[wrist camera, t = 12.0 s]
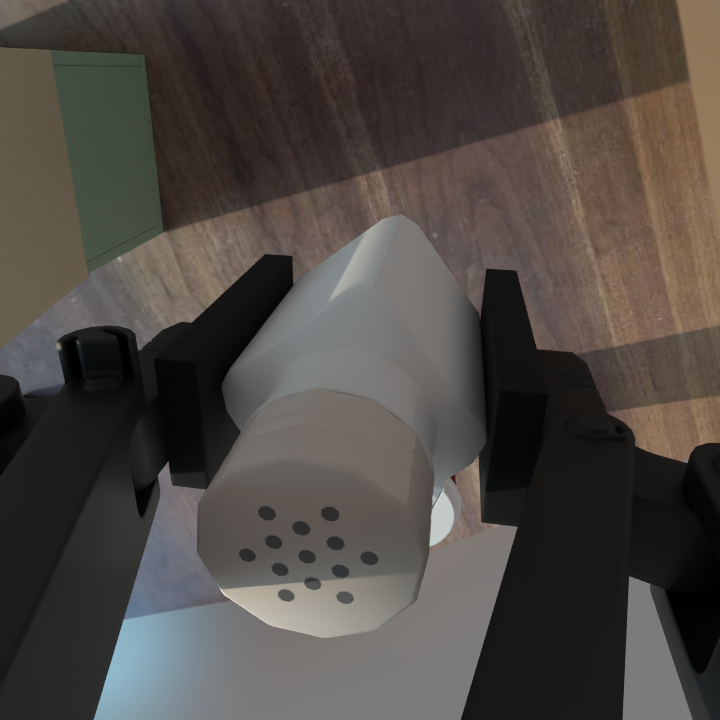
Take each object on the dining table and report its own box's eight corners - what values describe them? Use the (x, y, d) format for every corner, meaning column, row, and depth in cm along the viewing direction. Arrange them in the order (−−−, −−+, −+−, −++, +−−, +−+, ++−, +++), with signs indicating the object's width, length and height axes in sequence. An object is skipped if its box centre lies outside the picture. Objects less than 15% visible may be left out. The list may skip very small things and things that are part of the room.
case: (-3, 219, 53) (-117, 255, 43) (-42, 46, 47) (-187, 39, 37) (163, 232, 51) (86, 274, 41) (144, 54, 45) (48, 50, 35)
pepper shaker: (287, 283, 17) (105, 511, 8) (405, 199, 15) (333, 371, 7) (372, 390, 18) (288, 689, 9) (490, 322, 16) (519, 605, 8)
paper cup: (404, 362, 53) (386, 451, 41) (478, 403, 54) (482, 503, 41) (363, 425, 57) (335, 525, 44) (433, 463, 57) (425, 572, 45)
